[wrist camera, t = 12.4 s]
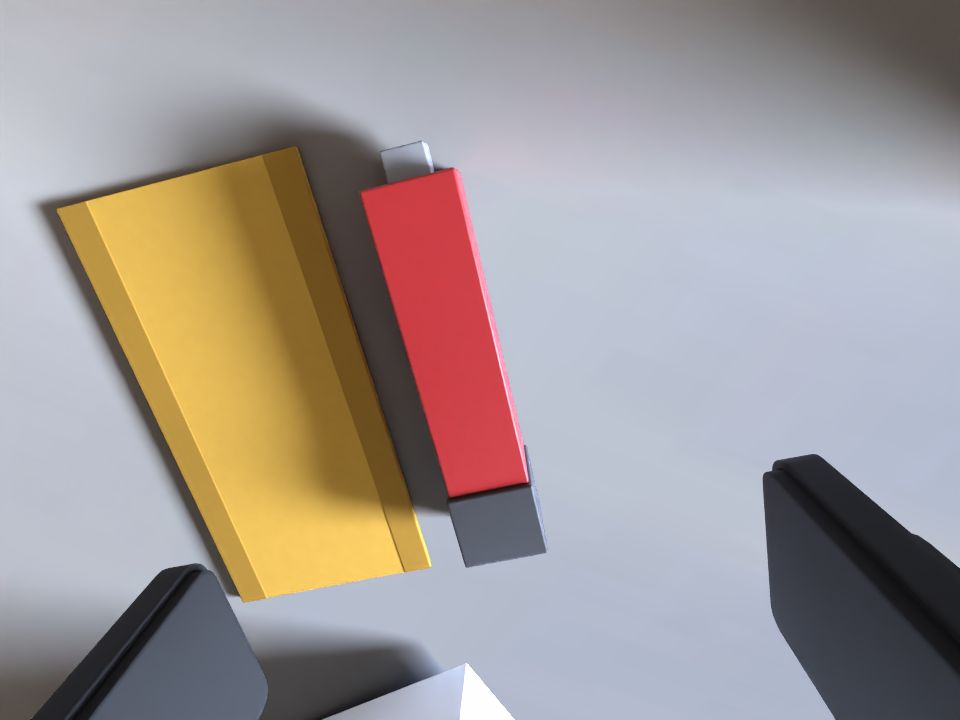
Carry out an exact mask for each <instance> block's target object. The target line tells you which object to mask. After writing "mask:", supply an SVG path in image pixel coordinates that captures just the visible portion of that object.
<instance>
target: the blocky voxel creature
mask: <svg viewBox="0 0 960 720" xmlns="http://www.w3.org/2000/svg"><path fill="white" fill-rule="evenodd" d="M322 720H514V719H513V718H512V717H511V716H510V714H509V713H508V712H507V711H506V710H505V708H504V707H503V706H502V705H501V704H500V702H499V701H498V700H497V699H496V698H495V696H494V695H493V694H492V693H491V692H490V690H489V689H488V688H487V687H486V686H485V684H484V683H483V682H482V681H481V680H480V679H479V677H478V676H477V675H476V674H475V673H474V671H473V670H472V669H471V668H470V667H469V665H468V664H467V663H465V664H463V665H460V666H458V667H455V668H453V669H450V670H448V671H445V672H442V673H440V674H437V675H435V676H432V677H430V678H427V679H425V680H422V681H419V682H417V683H414V684H412V685H409V686H407V687H404V688H402V689H399V690H396V691H394V692H391V693H389V694H386V695H384V696H381V697H379V698H376V699H373V700H371V701H368V702H366V703H363V704H361V705H358V706H356V707H353V708H351V709H348V710H345V711H343V712H340V713H338V714H335V715H333V716H330V717H328V718H325V719H322Z"/></svg>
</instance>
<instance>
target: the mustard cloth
mask: <svg viewBox="0 0 960 720" xmlns="http://www.w3.org/2000/svg"><path fill="white" fill-rule="evenodd" d="M56 211H57V213H58V215H59V217H60V219H61V221H62V223H63V225H64V228H65V230H66V232H67V234H68V236H69V238H70V240H71V242H72V244H73V246H74V248H75V251H76V253H77V255H78V257H79V259H80V261H81V263H82V265H83V267H84V269H85V272H86V274H87V276H88V278H89V280H90V282H91V284H92V286H93V288H94V290H95V293H96V295H97V297H98V299H99V301H100V303H101V305H102V307H103V309H104V311H105V314H106V316H107V318H108V320H109V322H110V324H111V326H112V328H113V330H114V332H115V335H116V337H117V339H118V341H119V343H120V345H121V347H122V349H123V351H124V353H125V356H126V358H127V360H128V362H129V364H130V366H131V368H132V370H133V372H134V374H135V377H136V379H137V381H138V383H139V385H140V387H141V389H142V391H143V393H144V395H145V398H146V400H147V402H148V404H149V406H150V408H151V410H152V412H153V414H154V416H155V419H156V421H157V423H158V425H159V427H160V429H161V431H162V433H163V435H164V437H165V439H166V442H167V444H168V446H169V448H170V450H171V452H172V454H173V456H174V458H175V460H176V463H177V465H178V467H179V469H180V471H181V473H182V475H183V477H184V479H185V481H186V484H187V486H188V488H189V490H190V492H191V494H192V496H193V498H194V500H195V502H196V505H197V507H198V509H199V511H200V513H201V515H202V517H203V519H204V521H205V523H206V526H207V528H208V530H209V532H210V534H211V536H212V538H213V540H214V542H215V544H216V547H217V549H218V551H219V553H220V555H221V557H222V559H223V561H224V563H225V565H226V568H227V570H228V572H229V574H230V576H231V578H232V580H233V582H234V584H235V586H236V589H237V591H238V593H239V595H240V597H241V599H242V601H243V603H245V602H250V601H255V600H261V599H266V598H269V597H274V596H279V595H285V594H290V593H295V592H301V591H306V590H311V589H317V588H322V587H327V586H333V585H338V584H343V583H349V582H354V581H359V580H365V579H370V578H375V577H381V576H386V575H391V574H397V573H402V572H410V571H416V570H421V569H426V568H430V567H431V561H430V558H429V554H428V551H427V548H426V545H425V542H424V539H423V536H422V533H421V530H420V526H419V523H418V520H417V517H416V514H415V511H414V508H413V505H412V502H411V498H410V495H409V492H408V489H407V486H406V483H405V480H404V477H403V474H402V470H401V467H400V464H399V461H398V458H397V455H396V452H395V449H394V446H393V442H392V439H391V436H390V433H389V430H388V427H387V424H386V421H385V418H384V414H383V411H382V408H381V405H380V402H379V399H378V396H377V393H376V390H375V386H374V383H373V380H372V377H371V374H370V371H369V368H368V365H367V362H366V358H365V355H364V352H363V349H362V346H361V343H360V340H359V337H358V334H357V330H356V327H355V324H354V321H353V318H352V315H351V312H350V309H349V306H348V302H347V299H346V296H345V293H344V290H343V287H342V284H341V281H340V278H339V274H338V271H337V268H336V265H335V262H334V259H333V256H332V253H331V250H330V246H329V243H328V240H327V237H326V234H325V231H324V228H323V225H322V222H321V218H320V215H319V212H318V209H317V206H316V203H315V200H314V197H313V194H312V190H311V187H310V184H309V181H308V178H307V175H306V172H305V169H304V166H303V162H302V159H301V156H300V153H299V150H298V147H295V146H293V147H289V148H285V149H282V150H278V151H274V152H270V153H266V154H263V155H259V156H256V157H252V158H248V159H244V160H240V161H237V162H233V163H229V164H225V165H221V166H217V167H214V168H210V169H206V170H202V171H198V172H195V173H191V174H187V175H183V176H179V177H176V178H172V179H168V180H164V181H160V182H156V183H153V184H149V185H145V186H141V187H137V188H134V189H130V190H126V191H122V192H118V193H115V194H111V195H107V196H103V197H99V198H95V199H92V200H88V201H83V202H80V203H76V204H72V205H68V206H64V207H61V208H57V209H56Z"/></svg>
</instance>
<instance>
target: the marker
mask: <svg viewBox="0 0 960 720" xmlns="http://www.w3.org/2000/svg"><path fill="white" fill-rule="evenodd" d="M380 156H381V160H382V163H383V167H384V170H385V174H386V178H387V181H388V184H385V185H381V186H377V187H373V188H369V189H365V190H361V191H360V198H361V201H362V205H363V208H364V211H365V215H366V218H367V222H368V225H369V228H370V232H371V235H372V238H373V242H374V245H375V249H376V252H377V255H378V259H379V262H380V266H381V269H382V272H383V276H384V279H385V282H386V286H387V289H388V293H389V296H390V299H391V303H392V306H393V310H394V313H395V316H396V320H397V323H398V327H399V330H400V333H401V337H402V340H403V343H404V347H405V350H406V354H407V357H408V360H409V364H410V367H411V371H412V374H413V377H414V381H415V384H416V387H417V391H418V394H419V398H420V401H421V404H422V408H423V411H424V415H425V418H426V421H427V425H428V428H429V432H430V435H431V438H432V442H433V445H434V448H435V452H436V455H437V459H438V462H439V465H440V469H441V472H442V476H443V479H444V482H445V486H446V489H447V492H448V498H447V506H448V510H449V513H450V516H451V520H452V523H453V526H454V530H455V533H456V536H457V540H458V543H459V547H460V550H461V553H462V557H463V560H464V563H465V566H466V567H467V568H469V567H474V566H479V565H485V564H490V563H495V562H501V561H506V560H511V559H517V558H522V557H527V556H533V555H538V554H544V553H547V551H548V549H547V543H546V537H545V532H544V526H543V520H542V514H541V509H540V503H539V499H538V494H537V490H536V486H535V481H534V477H533V473H532V468H531V464H530V460H529V455H528V451H527V447H526V445H523V440H522V436H521V432H520V427H519V423H518V419H517V415H516V410H515V406H514V402H513V397H512V393H511V389H510V385H509V380H508V376H507V372H506V367H505V363H504V359H503V355H502V350H501V346H500V342H499V337H498V333H497V329H496V324H495V320H494V316H493V312H492V307H491V303H490V299H489V294H488V290H487V286H486V282H485V277H484V273H483V269H482V264H481V260H480V256H479V252H478V247H477V243H476V239H475V234H474V230H473V226H472V222H471V217H470V213H469V209H468V204H467V200H466V196H465V192H464V187H463V183H462V179H461V174H460V172H459V171H458V170H457V169H455V168H448V169H444V170H440V171H436V172H434V168H433V164H432V160H431V156H430V152H429V148H428V145H427V144H426V143H425V142H423V141H418V142H414V143H411V144H407V145H403V146H399V147H395V148H391V149H387V150H384V151H381V152H380Z"/></svg>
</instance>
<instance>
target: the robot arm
mask: <svg viewBox="0 0 960 720" xmlns="http://www.w3.org/2000/svg"><path fill="white" fill-rule="evenodd" d="M763 493H764V509H765V524H766V539H767V554H768V569H769V584H770V599H771V609H772V612H773V616H774V619H775V621H776V624H777V626H778V628H779V630H780V632H781V633H782V635H783V636H784V638H785V640H786V641H787V643H788V644H789V646H790V648H791V649H792V651H793V652H794V654H795V656H796V657H797V659H798V660H799V662H800V664H801V665H802V667H803V668H804V670H805V671H806V673H807V675H808V676H809V678H810V679H811V681H812V683H813V684H814V686H815V687H816V689H817V691H818V692H819V694H820V695H821V697H822V699H823V700H824V702H825V703H826V705H827V706H828V708H829V710H830V711H831V713H832V714H833V716H834V718H835V719H836V720H960V568H959V567H957V566H956V565H955V564H954V563H953V562H951V561H950V560H949V559H948V558H947V557H945V556H944V555H943V554H942V553H941V552H939V551H938V550H937V549H936V548H935V547H933V546H932V545H931V544H930V543H928V542H927V541H925V540H924V539H922V538H921V537H919V536H918V535H915V534H911V533H910V532H909V531H908V530H907V529H905V528H904V527H903V526H902V525H901V524H900V523H898V522H897V521H896V520H895V519H894V518H892V517H891V516H890V515H889V514H888V513H887V512H885V511H884V510H883V509H882V508H881V507H880V506H878V505H877V504H876V503H875V502H874V501H872V500H871V499H870V498H869V497H868V496H867V495H865V494H864V493H863V492H862V491H861V490H859V489H858V488H857V487H856V486H855V485H854V484H852V483H851V482H850V481H849V480H848V479H846V478H845V477H844V476H843V475H842V474H841V473H839V472H838V471H837V470H836V469H835V468H834V467H832V466H831V465H830V464H829V463H828V462H826V461H825V460H824V459H823V458H822V457H820V456H818V455H816V454H811V455H805V456H799V457H794V458H788V459H782V460H777V461H775V462H774V464H773V467H772V471H770V472H766V473H764V475H763ZM267 697H268V683H267V680H266V678H265V676H264V673H263V671H262V669H261V667H260V665H259V663H258V661H257V659H256V657H255V655H254V653H253V651H252V649H251V647H250V645H249V643H248V641H247V639H246V637H245V635H244V633H243V631H242V629H241V627H240V624H239V622H238V620H237V618H236V616H235V614H234V612H233V610H232V608H231V606H230V604H229V602H228V600H227V598H226V596H225V594H224V592H223V590H222V588H221V586H220V584H219V582H218V580H217V577H216V576H215V574H214V573H213V572H212V571H209V570H207V569H206V568H205V567H204V566H203V565H201V564H196V563H195V564H190V565H184V566H178V567H173V568H168V569H165V570H162V571H161V572H160V573H159V574H158V575H157V576H156V577H155V578H154V579H153V580H152V581H151V583H150V584H149V585H148V586H147V587H146V588H145V589H144V591H143V592H142V593H141V594H140V595H139V596H138V597H137V599H136V600H135V601H134V602H133V603H132V604H131V605H130V607H129V608H128V609H127V610H126V611H125V612H124V613H123V615H122V616H121V617H120V618H119V619H118V620H117V621H116V623H115V624H114V625H113V626H112V627H111V628H110V629H109V631H108V632H107V633H106V634H105V635H104V636H103V637H102V639H101V640H100V641H99V642H98V643H97V644H96V645H95V647H94V648H93V649H92V650H91V651H90V652H89V654H88V655H87V656H86V657H85V658H84V659H83V660H82V662H81V663H80V664H79V665H78V666H77V667H76V668H75V670H74V671H73V672H72V673H71V674H70V675H69V676H68V678H67V679H66V680H65V681H64V682H63V683H62V684H61V686H60V687H59V688H58V689H57V690H56V691H55V692H54V694H53V695H52V696H51V697H50V698H49V699H48V700H47V702H46V703H45V704H44V705H43V706H42V707H41V708H40V710H39V711H38V712H37V713H36V714H35V715H34V716H33V718H32V719H31V720H259V718H260V716H261V714H262V711H263V709H264V707H265V704H266V701H267Z"/></svg>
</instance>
